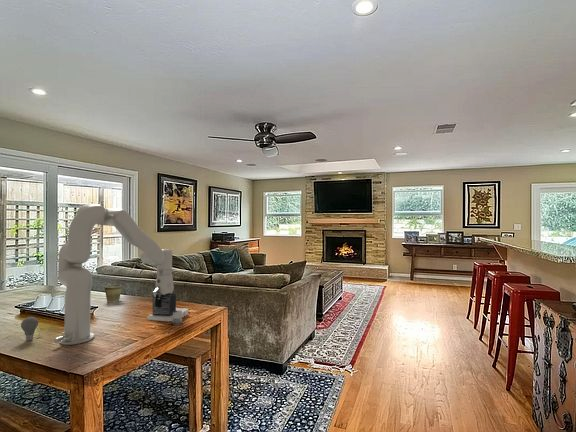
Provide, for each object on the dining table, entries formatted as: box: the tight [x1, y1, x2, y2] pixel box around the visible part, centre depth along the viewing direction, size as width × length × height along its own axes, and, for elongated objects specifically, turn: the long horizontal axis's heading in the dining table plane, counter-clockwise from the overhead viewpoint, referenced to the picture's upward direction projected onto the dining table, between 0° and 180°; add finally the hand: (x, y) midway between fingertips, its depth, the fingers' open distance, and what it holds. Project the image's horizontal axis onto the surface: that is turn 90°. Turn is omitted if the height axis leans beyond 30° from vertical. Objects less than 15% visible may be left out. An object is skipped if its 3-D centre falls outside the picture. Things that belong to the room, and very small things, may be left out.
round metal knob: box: [172, 311, 183, 326], centre depth 165 cm, size 4×4×6 cm
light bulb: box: [20, 316, 39, 341], centre depth 142 cm, size 6×6×10 cm
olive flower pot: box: [104, 283, 123, 304], centre depth 211 cm, size 13×10×10 cm
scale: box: [146, 307, 190, 322], centre depth 178 cm, size 18×17×3 cm
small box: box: [152, 293, 177, 316], centre depth 175 cm, size 11×6×10 cm, turn 81°
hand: (163, 304), depth 174 cm, fingers open, 9 cm apart
